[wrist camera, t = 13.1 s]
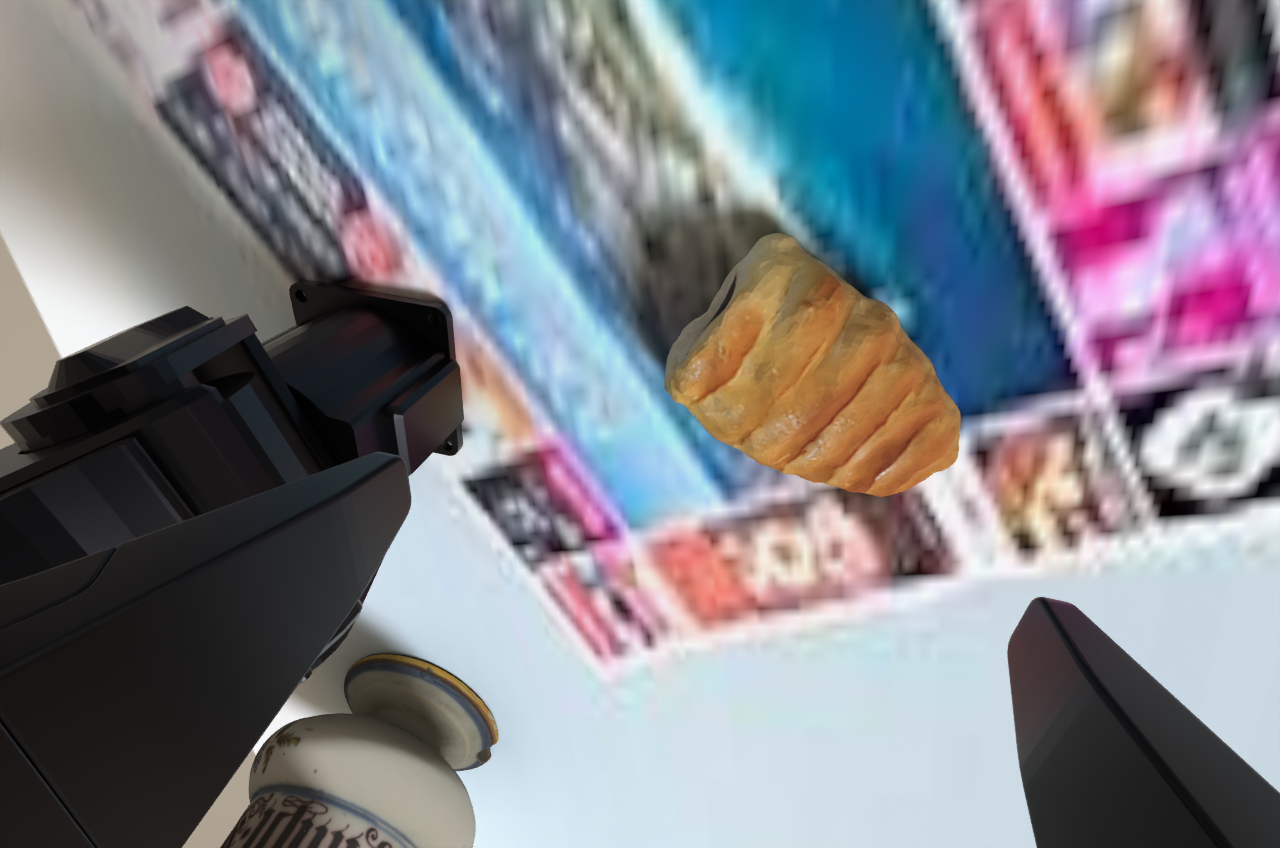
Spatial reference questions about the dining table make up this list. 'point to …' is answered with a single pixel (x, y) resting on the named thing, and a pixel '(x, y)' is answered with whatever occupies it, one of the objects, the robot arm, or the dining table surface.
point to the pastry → (813, 377)
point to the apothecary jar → (373, 766)
